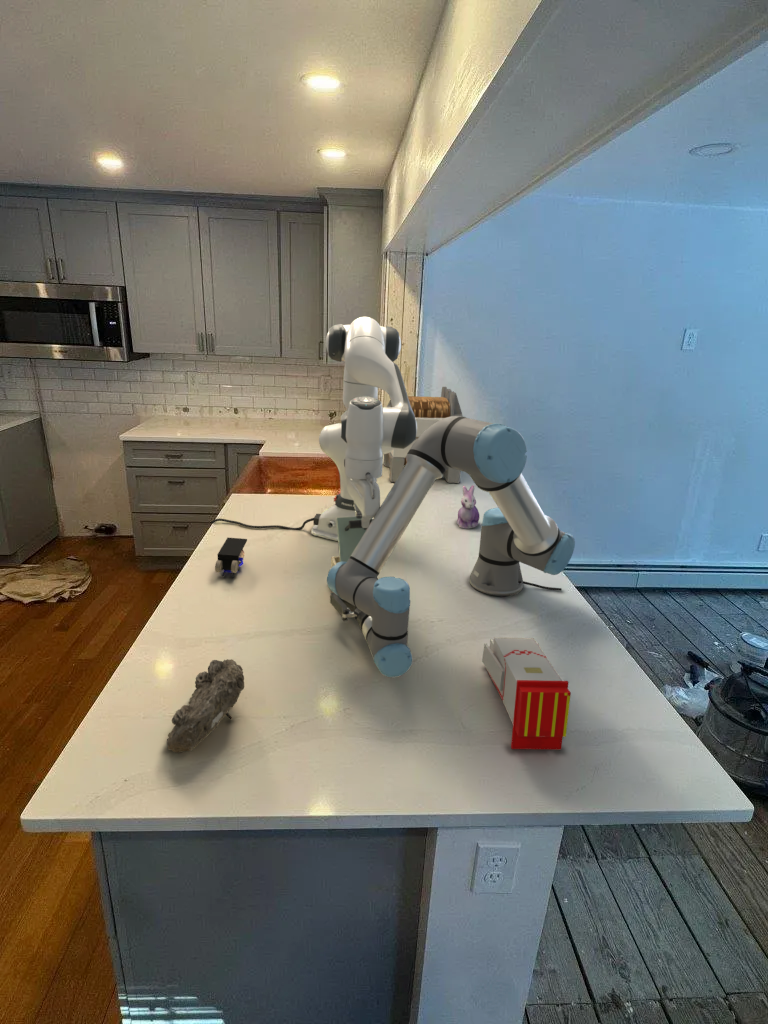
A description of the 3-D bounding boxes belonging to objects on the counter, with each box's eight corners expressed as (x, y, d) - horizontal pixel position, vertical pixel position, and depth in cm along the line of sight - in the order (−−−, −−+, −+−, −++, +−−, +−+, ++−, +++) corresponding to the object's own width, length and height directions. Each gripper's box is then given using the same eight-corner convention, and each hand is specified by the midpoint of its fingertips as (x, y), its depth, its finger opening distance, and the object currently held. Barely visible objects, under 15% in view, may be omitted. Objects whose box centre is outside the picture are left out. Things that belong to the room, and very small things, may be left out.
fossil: (192, 660, 117) (244, 628, 112) (224, 691, 120) (276, 661, 115) (142, 746, 98) (202, 712, 93) (182, 779, 101) (242, 748, 96)
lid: (336, 518, 147) (342, 511, 138) (370, 516, 149) (379, 509, 140) (341, 579, 144) (348, 575, 135) (376, 576, 146) (385, 572, 138)
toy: (531, 620, 128) (580, 688, 99) (526, 675, 131) (572, 757, 101) (478, 619, 128) (511, 687, 98) (474, 674, 130) (505, 756, 101)
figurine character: (238, 584, 162) (249, 557, 175) (236, 562, 158) (247, 536, 172) (215, 584, 161) (227, 556, 175) (212, 561, 158) (225, 535, 171)
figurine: (465, 531, 205) (469, 491, 200) (449, 521, 213) (452, 483, 208) (486, 527, 209) (490, 488, 204) (470, 518, 217) (473, 481, 212)
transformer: (382, 463, 289) (386, 382, 275) (445, 464, 293) (451, 384, 279) (390, 482, 257) (394, 392, 243) (460, 483, 261) (468, 394, 247)
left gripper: (388, 480, 125) (385, 537, 130) (366, 456, 144) (365, 507, 148) (360, 481, 124) (358, 539, 128) (342, 457, 142) (341, 509, 147)
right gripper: (329, 645, 127) (314, 597, 147) (422, 635, 133) (395, 590, 153) (330, 615, 124) (314, 571, 145) (424, 606, 130) (396, 565, 151)
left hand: (361, 522), depth 138 cm, fingers open, 5 cm apart
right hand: (356, 581), depth 149 cm, fingers closed on chest, 9 cm apart
